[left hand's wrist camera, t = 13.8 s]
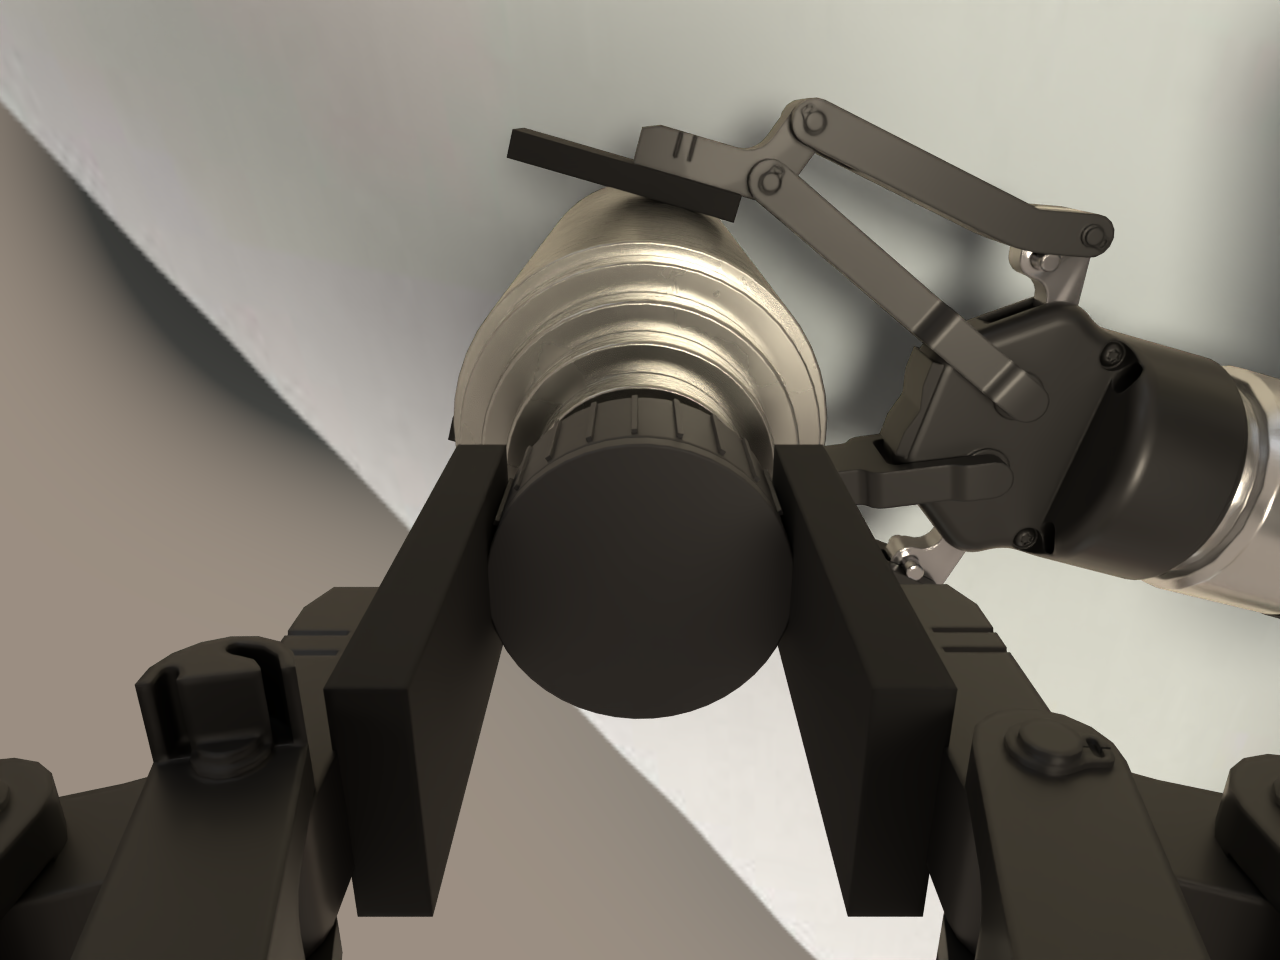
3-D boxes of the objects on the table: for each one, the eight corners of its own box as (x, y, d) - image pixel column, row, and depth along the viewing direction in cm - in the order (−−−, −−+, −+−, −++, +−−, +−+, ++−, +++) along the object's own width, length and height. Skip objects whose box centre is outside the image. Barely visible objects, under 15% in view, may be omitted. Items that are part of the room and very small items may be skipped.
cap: (609, 686, 16) (605, 770, 14) (446, 493, 14) (415, 554, 12) (828, 555, 15) (858, 625, 13) (676, 336, 13) (683, 374, 11)
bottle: (500, 319, 35) (278, 644, 13) (607, 137, 32) (545, 182, 11) (668, 423, 36) (710, 863, 15) (783, 257, 34) (1027, 501, 13)
